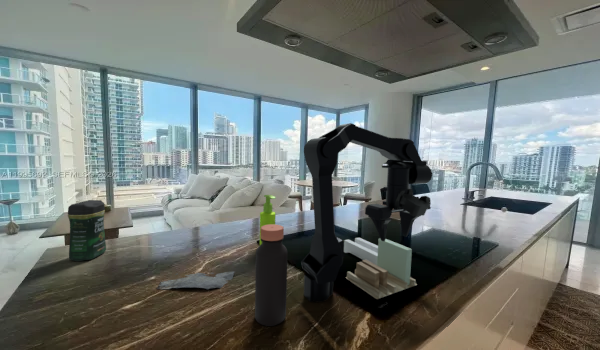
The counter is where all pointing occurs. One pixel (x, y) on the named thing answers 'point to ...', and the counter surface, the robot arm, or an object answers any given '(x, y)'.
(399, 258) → the green sheet
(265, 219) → the soap dispenser
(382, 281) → the middle offcut
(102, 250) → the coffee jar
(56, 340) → the counter surface
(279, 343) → the counter surface
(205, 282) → the stone slab
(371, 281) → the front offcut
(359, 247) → the grey slotted stand
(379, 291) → the birch rack
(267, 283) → the bottle
